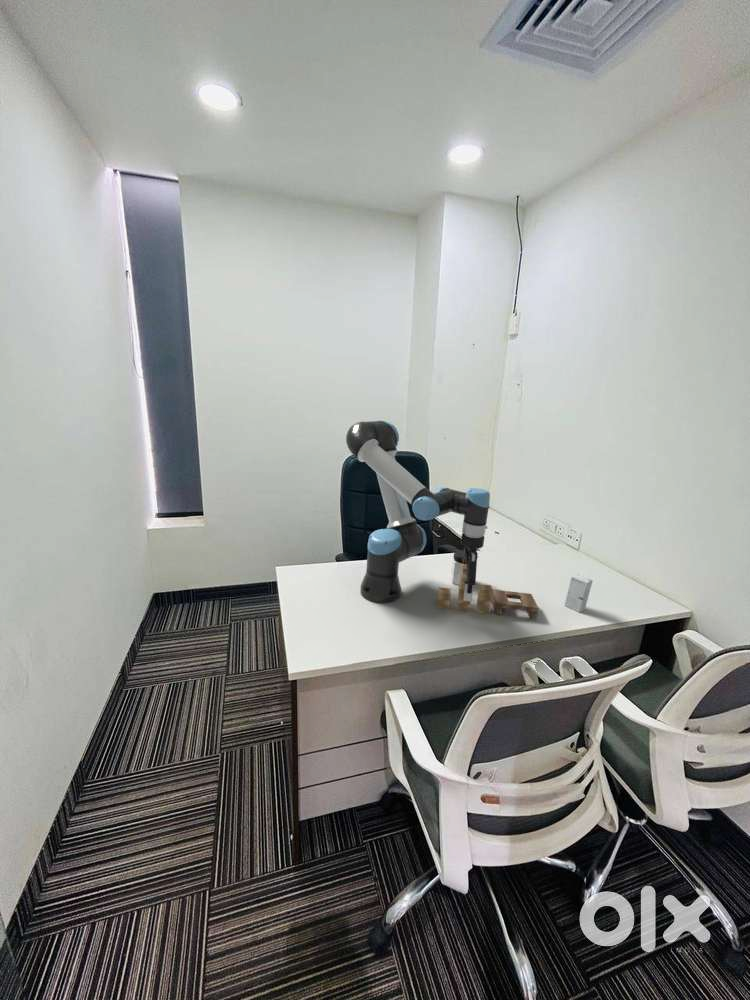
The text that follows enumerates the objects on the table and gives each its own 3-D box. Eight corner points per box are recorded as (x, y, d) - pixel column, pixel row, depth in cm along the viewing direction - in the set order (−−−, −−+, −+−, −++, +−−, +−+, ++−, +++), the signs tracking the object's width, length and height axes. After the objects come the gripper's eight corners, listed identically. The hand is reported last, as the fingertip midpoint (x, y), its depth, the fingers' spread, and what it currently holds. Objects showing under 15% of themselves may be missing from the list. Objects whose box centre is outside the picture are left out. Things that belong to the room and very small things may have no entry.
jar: (448, 575, 172) (452, 549, 168) (468, 576, 172) (472, 550, 168) (452, 586, 163) (456, 558, 160) (473, 587, 163) (477, 559, 160)
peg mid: (477, 612, 145) (481, 589, 143) (476, 606, 149) (479, 584, 146) (489, 613, 145) (493, 590, 142) (487, 608, 148) (491, 585, 146)
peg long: (457, 610, 146) (463, 568, 141) (456, 604, 149) (462, 563, 145) (469, 611, 145) (475, 569, 141) (467, 605, 149) (473, 564, 145)
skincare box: (563, 605, 154) (570, 576, 151) (570, 602, 157) (576, 573, 153) (580, 613, 149) (587, 582, 146) (586, 609, 152) (593, 580, 149)
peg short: (437, 607, 146) (439, 592, 145) (437, 602, 150) (439, 587, 148) (448, 609, 146) (450, 593, 144) (448, 603, 150) (450, 588, 148)
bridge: (495, 614, 144) (497, 603, 143) (490, 600, 154) (492, 589, 153) (536, 619, 143) (538, 607, 142) (529, 604, 153) (531, 593, 151)
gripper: (490, 549, 127) (481, 610, 133) (479, 523, 151) (472, 576, 157) (465, 546, 128) (457, 607, 134) (459, 521, 152) (452, 574, 158)
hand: (465, 591), depth 145 cm, fingers open, 13 cm apart
